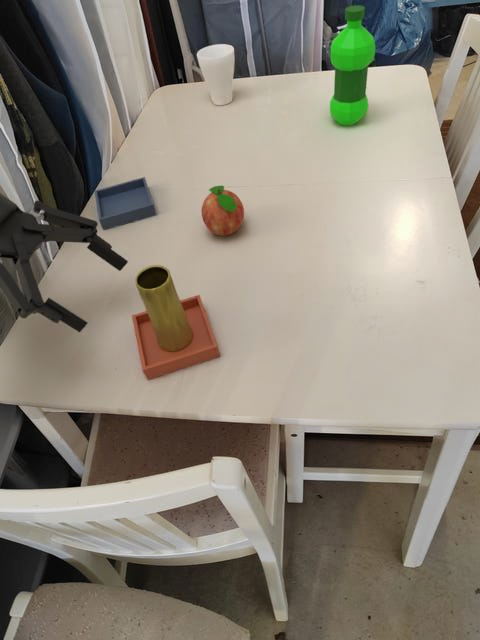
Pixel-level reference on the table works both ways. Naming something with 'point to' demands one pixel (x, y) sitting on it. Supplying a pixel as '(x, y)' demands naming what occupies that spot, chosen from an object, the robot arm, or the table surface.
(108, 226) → the slate tray
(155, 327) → the vase
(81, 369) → the table surface
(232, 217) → the fruit
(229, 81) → the cup
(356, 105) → the plastic bottle
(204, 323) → the terracotta tray
